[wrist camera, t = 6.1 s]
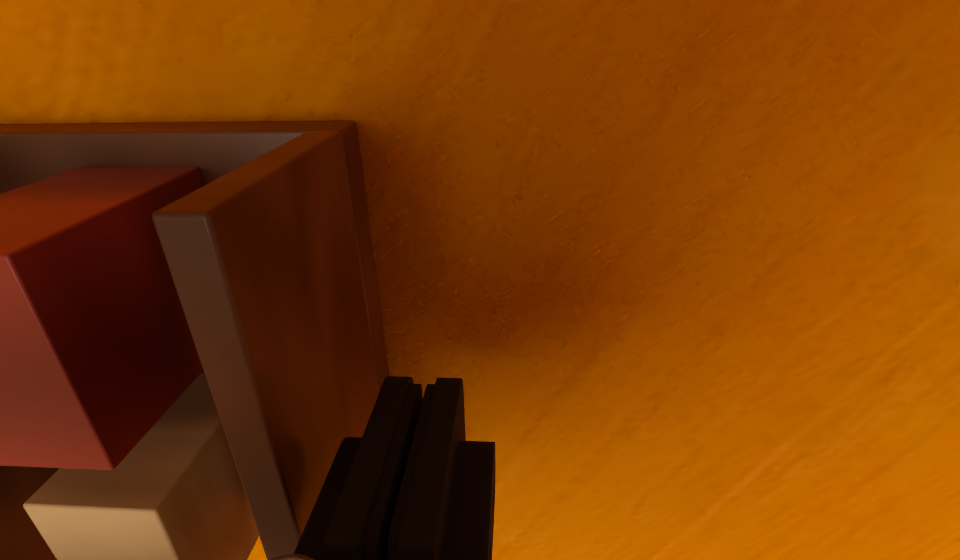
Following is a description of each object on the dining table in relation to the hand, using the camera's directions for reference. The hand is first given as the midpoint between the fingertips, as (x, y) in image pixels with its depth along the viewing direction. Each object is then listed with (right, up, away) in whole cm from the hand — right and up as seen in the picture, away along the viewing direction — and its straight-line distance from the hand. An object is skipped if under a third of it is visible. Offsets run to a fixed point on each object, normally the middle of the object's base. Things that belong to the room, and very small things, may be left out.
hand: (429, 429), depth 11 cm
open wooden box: (-7, +2, +4) cm, 8 cm away
